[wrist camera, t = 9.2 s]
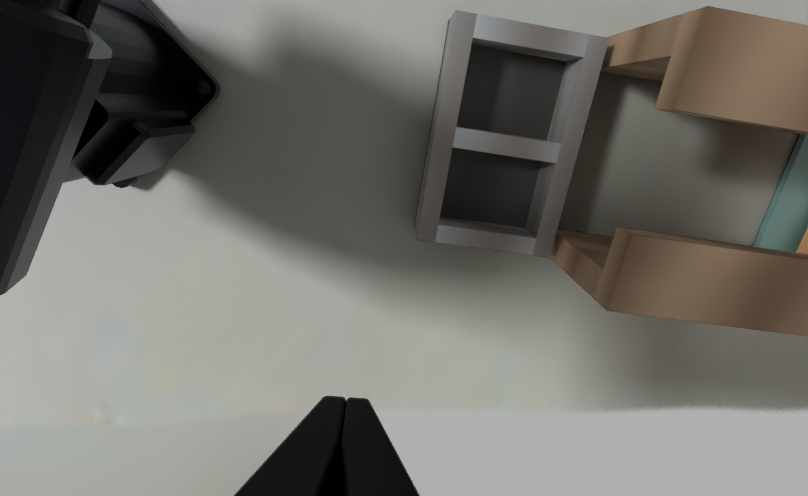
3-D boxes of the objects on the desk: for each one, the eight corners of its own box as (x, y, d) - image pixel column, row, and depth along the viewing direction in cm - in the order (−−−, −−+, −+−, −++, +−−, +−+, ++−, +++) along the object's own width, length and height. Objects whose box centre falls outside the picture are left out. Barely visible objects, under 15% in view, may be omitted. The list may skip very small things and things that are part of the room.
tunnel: (413, 233, 21) (424, 287, 15) (449, 12, 18) (483, -38, 12) (870, 295, 23) (1049, 366, 17) (970, 107, 20) (1234, 107, 14)
